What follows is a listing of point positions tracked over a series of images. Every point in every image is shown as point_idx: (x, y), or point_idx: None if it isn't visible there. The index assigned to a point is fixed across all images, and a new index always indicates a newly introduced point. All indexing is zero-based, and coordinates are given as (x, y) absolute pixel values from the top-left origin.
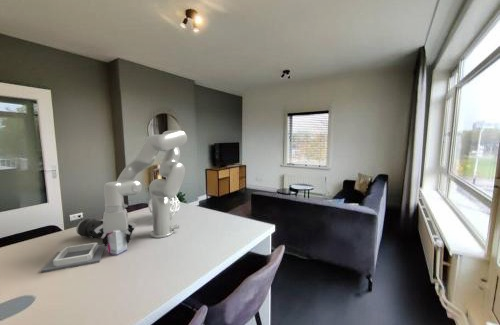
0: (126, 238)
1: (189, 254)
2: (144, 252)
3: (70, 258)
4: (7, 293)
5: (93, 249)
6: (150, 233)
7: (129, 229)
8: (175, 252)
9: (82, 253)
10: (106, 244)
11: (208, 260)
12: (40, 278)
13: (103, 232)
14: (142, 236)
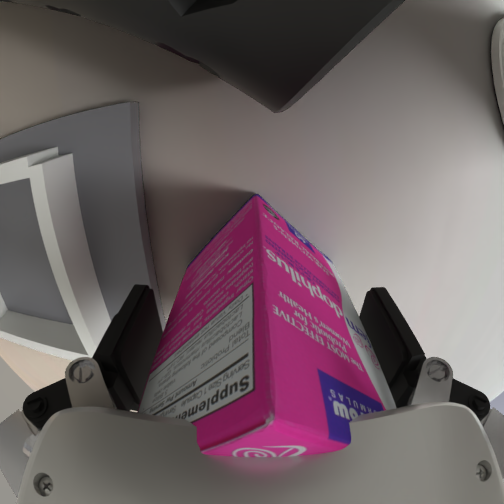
0: (365, 332)
1: (493, 369)
2: (413, 329)
3: (33, 347)
4: (17, 373)
5: (77, 303)
6: (501, 66)
7: (445, 398)
8: (484, 353)
9: (24, 228)
10: (159, 330)
11: (489, 394)
12: (25, 350)
13: (32, 4)
14: (442, 35)
